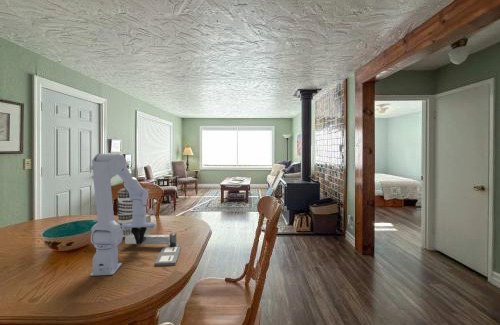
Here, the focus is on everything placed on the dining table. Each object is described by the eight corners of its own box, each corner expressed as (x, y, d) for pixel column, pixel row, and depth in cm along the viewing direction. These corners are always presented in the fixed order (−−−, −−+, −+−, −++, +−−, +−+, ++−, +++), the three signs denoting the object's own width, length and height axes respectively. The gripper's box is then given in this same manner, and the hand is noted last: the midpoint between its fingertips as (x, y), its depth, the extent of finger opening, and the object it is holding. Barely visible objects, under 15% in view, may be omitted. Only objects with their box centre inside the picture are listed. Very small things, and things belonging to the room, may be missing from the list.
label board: (175, 264, 105) (175, 261, 105) (154, 265, 104) (154, 262, 104) (180, 248, 123) (180, 245, 123) (163, 249, 122) (163, 246, 122)
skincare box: (151, 238, 138) (151, 214, 138) (146, 240, 134) (146, 216, 134) (141, 236, 140) (140, 213, 140) (135, 239, 136) (135, 215, 135)
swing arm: (125, 243, 124) (125, 236, 124) (128, 241, 127) (128, 234, 127) (167, 244, 124) (167, 236, 124) (169, 242, 127) (169, 234, 127)
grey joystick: (177, 248, 123) (177, 235, 123) (166, 248, 123) (166, 236, 122) (179, 244, 128) (179, 232, 128) (168, 245, 128) (168, 232, 127)
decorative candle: (138, 232, 148) (138, 187, 147) (129, 237, 138) (129, 190, 138) (123, 231, 149) (122, 187, 148) (113, 237, 139) (112, 189, 139)
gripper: (157, 212, 127) (157, 240, 127) (125, 212, 125) (125, 241, 125) (154, 215, 120) (154, 245, 120) (120, 216, 118) (120, 246, 118)
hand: (139, 243), depth 122 cm, fingers closed
